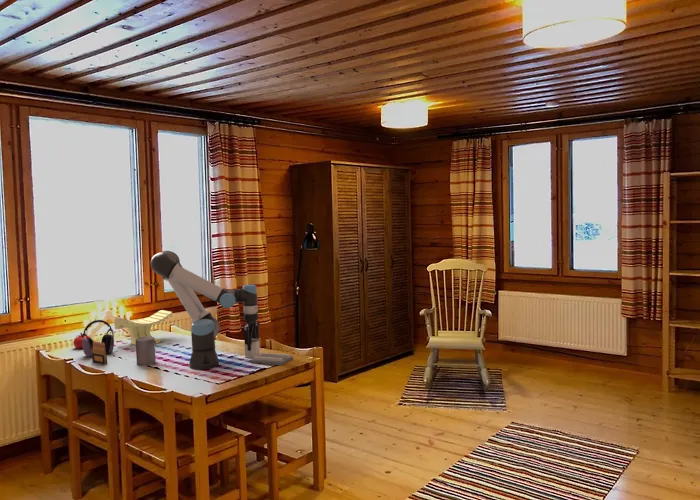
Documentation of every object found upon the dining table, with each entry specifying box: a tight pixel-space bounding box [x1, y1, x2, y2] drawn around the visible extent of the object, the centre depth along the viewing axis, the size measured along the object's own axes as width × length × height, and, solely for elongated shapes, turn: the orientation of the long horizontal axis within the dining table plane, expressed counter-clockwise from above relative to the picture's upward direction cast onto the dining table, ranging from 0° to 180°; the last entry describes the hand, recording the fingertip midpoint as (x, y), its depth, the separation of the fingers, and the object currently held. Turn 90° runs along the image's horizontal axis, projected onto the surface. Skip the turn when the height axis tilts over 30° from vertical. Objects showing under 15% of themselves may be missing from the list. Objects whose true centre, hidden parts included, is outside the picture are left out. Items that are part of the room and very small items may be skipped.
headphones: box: [82, 319, 115, 358], centre depth 334 cm, size 9×17×20 cm, turn 136°
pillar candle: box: [135, 335, 157, 366], centre depth 311 cm, size 10×10×15 cm
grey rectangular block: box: [243, 338, 261, 359], centre depth 318 cm, size 4×7×10 cm, turn 69°
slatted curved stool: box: [114, 309, 173, 346], centre depth 362 cm, size 30×16×18 cm, turn 137°
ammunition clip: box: [91, 340, 108, 365], centre depth 315 cm, size 11×2×12 cm, turn 57°
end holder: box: [250, 352, 294, 366], centre depth 310 cm, size 14×18×3 cm
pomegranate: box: [72, 332, 92, 350], centre depth 353 cm, size 10×10×9 cm
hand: (252, 354), depth 319 cm, fingers closed on grey rectangular block, 4 cm apart
